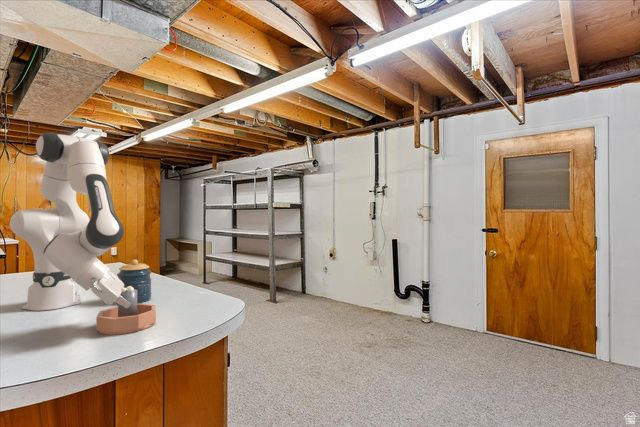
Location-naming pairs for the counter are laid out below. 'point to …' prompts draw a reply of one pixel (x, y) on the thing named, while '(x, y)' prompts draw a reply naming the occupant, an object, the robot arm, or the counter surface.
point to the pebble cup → (131, 296)
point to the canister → (137, 279)
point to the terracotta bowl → (125, 320)
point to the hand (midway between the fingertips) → (129, 303)
